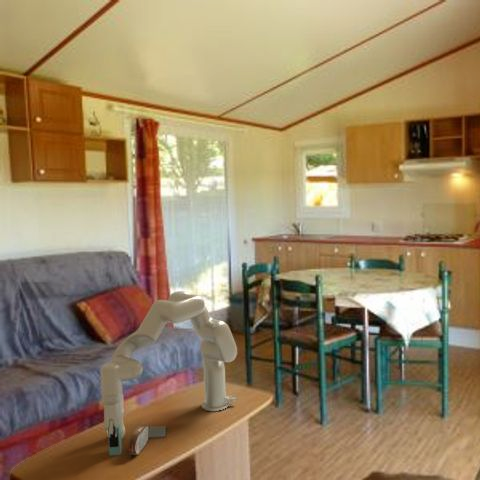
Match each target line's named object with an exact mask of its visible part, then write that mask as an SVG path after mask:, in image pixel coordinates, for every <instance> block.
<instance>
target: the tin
mask: <svg viewBox="0 0 480 480" xmlns="http://www.w3.org/2000/svg"><path fill="white" fill-rule="evenodd" d="M149 427H150V426H149V425H148V424H147V423H140V424H139V425H138V426H137V427H136V429H134V431H133V432H132V433H131V436H130V438H129V441H128V453H129V455H130V456H138V455H140V453H141V452H142V450H144V448H145V447H146V446H147V444H148V441H149V439H150V438H149ZM148 438H149V439H148Z"/></svg>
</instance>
